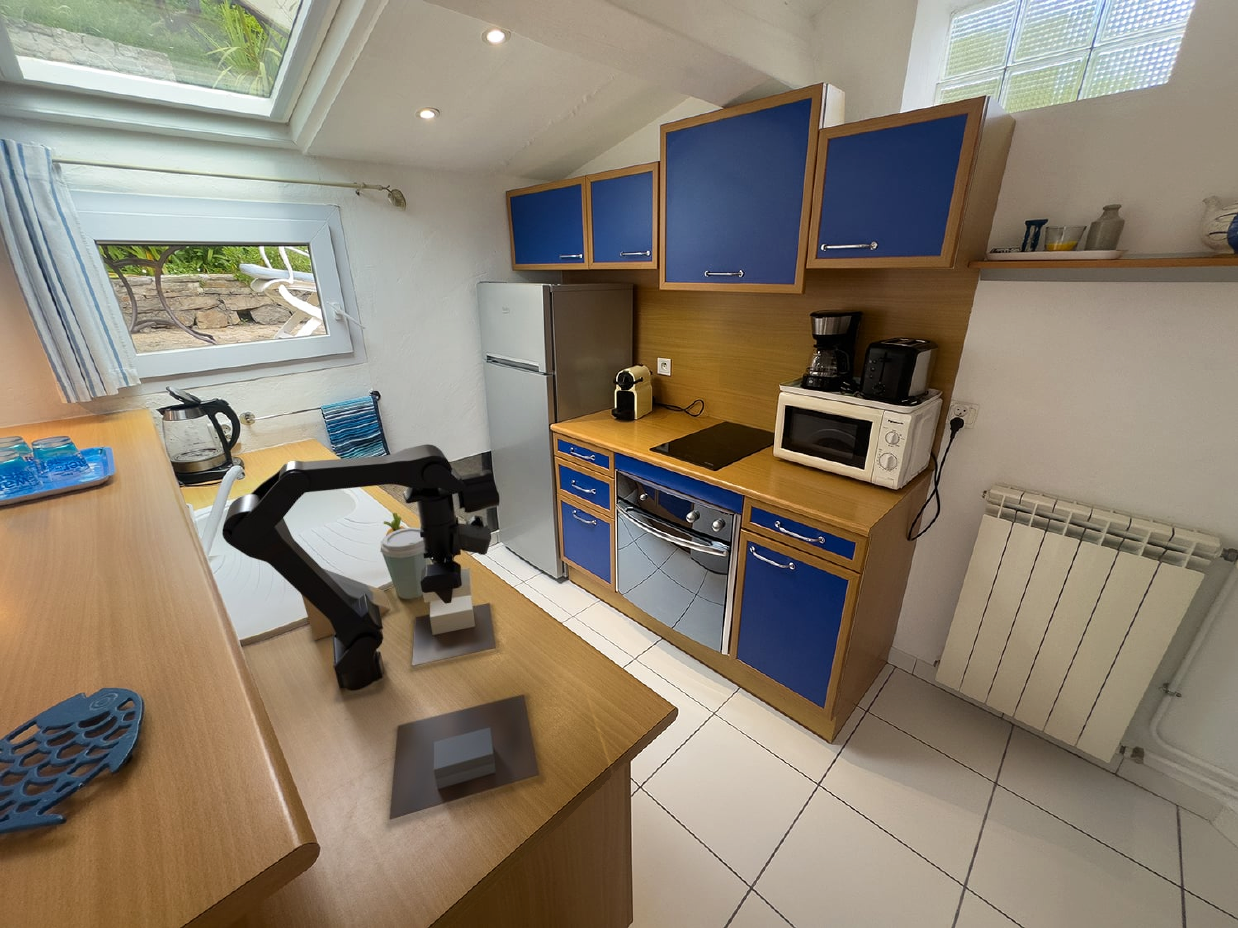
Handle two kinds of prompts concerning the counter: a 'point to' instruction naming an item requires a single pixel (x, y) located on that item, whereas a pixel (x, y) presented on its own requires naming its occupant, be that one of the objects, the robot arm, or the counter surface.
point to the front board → (417, 738)
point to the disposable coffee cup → (405, 561)
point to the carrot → (394, 524)
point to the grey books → (463, 758)
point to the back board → (453, 638)
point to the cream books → (451, 615)
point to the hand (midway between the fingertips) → (448, 592)
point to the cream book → (457, 592)
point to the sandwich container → (352, 588)
